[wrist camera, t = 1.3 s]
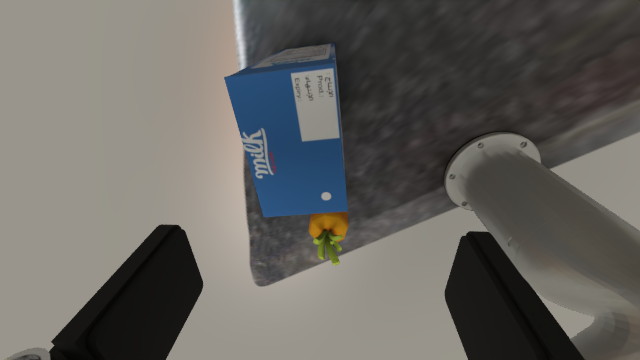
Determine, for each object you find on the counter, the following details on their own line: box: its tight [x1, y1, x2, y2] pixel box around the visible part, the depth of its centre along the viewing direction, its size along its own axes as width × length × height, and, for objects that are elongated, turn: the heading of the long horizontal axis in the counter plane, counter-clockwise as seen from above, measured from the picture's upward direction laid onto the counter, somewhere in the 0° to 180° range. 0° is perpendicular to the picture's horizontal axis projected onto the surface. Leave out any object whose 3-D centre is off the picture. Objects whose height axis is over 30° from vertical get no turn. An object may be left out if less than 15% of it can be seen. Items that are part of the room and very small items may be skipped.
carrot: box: [309, 211, 348, 265], centre depth 35 cm, size 5×5×15 cm
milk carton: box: [225, 42, 348, 217], centre depth 26 cm, size 10×6×20 cm, turn 7°
